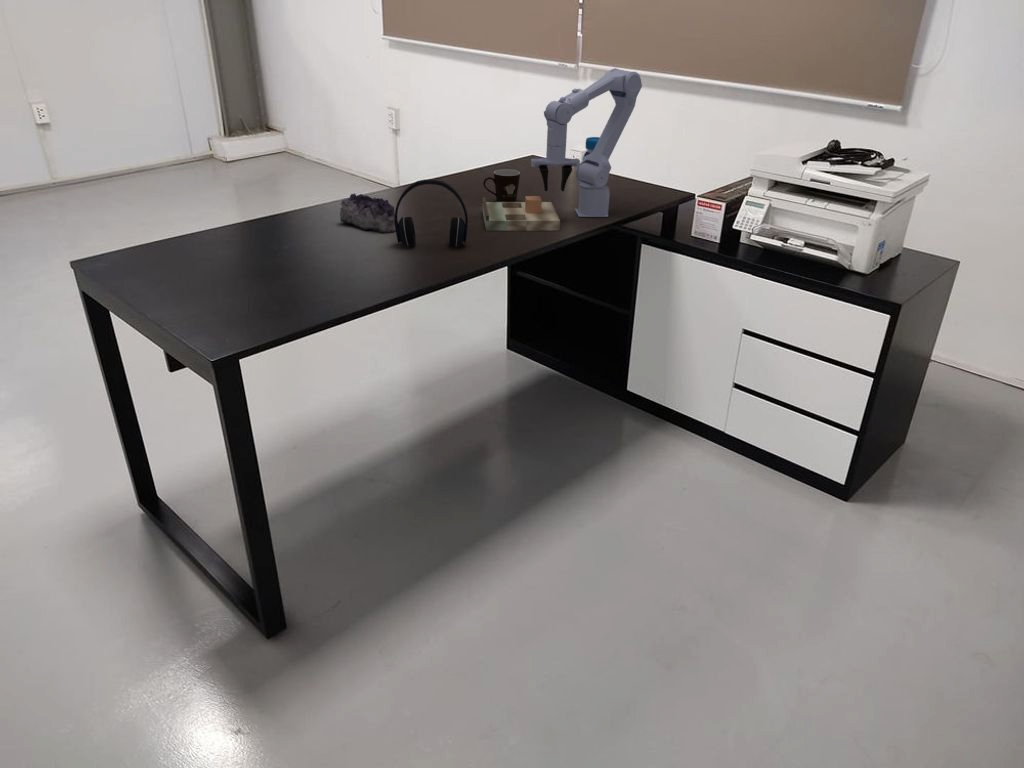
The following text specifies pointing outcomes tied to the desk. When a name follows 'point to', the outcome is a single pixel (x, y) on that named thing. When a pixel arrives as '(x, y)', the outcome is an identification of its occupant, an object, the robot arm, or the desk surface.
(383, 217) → the geode
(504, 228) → the trap board
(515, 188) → the coffee mug
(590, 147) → the beverage bottle
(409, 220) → the headphones
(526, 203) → the block
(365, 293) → the desk surface
